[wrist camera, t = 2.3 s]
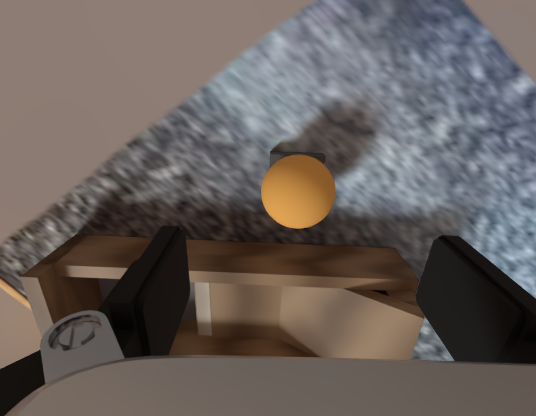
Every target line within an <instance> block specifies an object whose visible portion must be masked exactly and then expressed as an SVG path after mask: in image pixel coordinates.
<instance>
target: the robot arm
mask: <svg viewBox="0 0 536 416" xmlns="http://www.w3.org/2000/svg"><path fill="white" fill-rule="evenodd" d="M189 297H190V278H189V267H188V256H187V245H186V234H185V231H184V230H180V227H179V226H162V227H161V229H160V230H159V231H158V233H157V234H156V236H155V237H154V238H153V240H152V241H151V243H150V244H149V245H148V247H147V248H146V250H145V251H144V252H143V254H142V255H141V256H140V258H139V259H138V260H135V261H134V262H133V263H132V264H131V265H130V266H129V268H128V269H127V270H126V272H125V273H124V274H123V276H122V277H121V279H120V280H119V281H118V283H117V284H116V285H115V287H114V288H113V289H112V291H111V292H110V293H109V295H108V296H107V297H106V299H105V300H104V301H103V303H102V304H101V306H100V307H99V308H98V310H97V311H92V310H88V311H81V312H77V313H74V314H71V315H69V316H67V317H65V318H62V319H61V320H59V321H58V322H56V323H55V324H53V325H52V326H51V327H50V328H49V329H48V330H47V331H46V332H45V334H44V335H43V337H42V339H41V344H40V349H41V350H39V351H37V352H35V353H33V354H31V355H29V356H27V357H25V358H23V359H20V360H18V361H16V362H14V363H12V364H10V365H8V366H6V367H4V368H2V369H0V416H536V299H535V298H534V297H533V296H532V295H530V294H529V293H528V292H527V291H526V290H524V289H523V288H522V287H521V286H519V285H518V284H517V283H516V282H515V281H513V280H512V279H511V278H510V277H508V276H507V275H506V274H505V273H504V272H502V271H501V270H500V269H499V268H497V267H496V266H495V265H494V264H493V263H491V262H490V261H489V260H488V259H486V258H485V257H484V256H483V255H482V254H480V253H479V252H478V251H477V250H475V249H474V248H473V247H472V246H471V245H469V244H468V243H467V242H466V241H464V240H463V239H462V238H461V237H459V236H448V235H441V236H439V237H438V239H435V240H434V242H433V244H432V247H431V250H430V253H429V256H428V260H427V263H426V266H425V269H424V272H423V275H422V278H421V281H420V284H419V287H418V291H417V294H416V302H417V304H418V306H419V308H420V309H421V311H422V312H423V314H424V315H425V317H426V318H427V320H428V321H429V323H430V324H431V326H432V327H433V329H434V330H435V332H436V333H437V335H438V336H439V338H440V339H441V341H442V342H443V344H444V345H445V347H446V348H447V350H448V351H449V353H450V354H451V356H452V357H453V359H454V360H455V361H430V360H397V359H361V358H322V357H276V356H227V355H169V353H170V350H171V347H172V344H173V341H174V339H175V336H176V333H177V330H178V328H179V325H180V322H181V319H182V316H183V314H184V311H185V308H186V305H187V303H188V300H189Z"/></svg>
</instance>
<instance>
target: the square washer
mask: <svg viewBox="0 0 536 416" xmlns="http://www.w3.org/2000/svg"><path fill="white" fill-rule="evenodd" d="M290 155H306V156H310V157H313V158H315V159H317V160H319V161H320V162H321V163H323V164H324V161H325V156H324V154H323V153H301V152H278V151H270V167H271V166H272V165H273V164H275V163H276V162H277V161H279V160H280V159H282V158H284V157H287V156H290Z"/></svg>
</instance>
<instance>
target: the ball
mask: <svg viewBox="0 0 536 416" xmlns="http://www.w3.org/2000/svg"><path fill="white" fill-rule="evenodd" d="M261 195H262V201H263V204H264V207H265V209H266V211H267V212H268V214H269V215H270V216H271V217H272V218H273V219H274V220H275V221H276V222H278V223H279V224H281V225H283V226H286V227H290V228H296V229H299V228H307V227H310V226H313V225H315V224H317V223H318V222H320V221H321V220H322V219H324V218H325V217H326V216H327V214H328V213H329V212H330V210H331V208H332V206H333V203H334V200H335V183H334V180H333V177H332V175H331V173H330V171H329V170H328V168H327V167H326V166H325V165H324V164H323V163H321V162H320V161H319V160H317V159H315V158H313V157H310V156H306V155H290V156H287V157H284V158H282V159H280V160H279V161H277V162H276V163H275V164H273V165H272V166H271V167H270V169H269V170H268V171H267V173H266V175H265V177H264V179H263V183H262V188H261Z"/></svg>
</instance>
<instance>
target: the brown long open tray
mask: <svg viewBox="0 0 536 416" xmlns="http://www.w3.org/2000/svg"><path fill="white" fill-rule="evenodd" d="M152 240H153V238H146V237H123V236H100V235H77V234H76V235H75V236H73V237H72V238H71V239H69V240H68V241H67V242H65V243H64V244H63V245H61V246H60V247H59V248H57V249H56V250H55V251H53V252H52V253H51V254H49V255H48V256H47V257H45V258H44V259H43V260H41V261H40V262H39V263H37V264H36V265H35V266H34V267H32V268H31V269H30V270H28V271H27V272H26V273H24V274H23V275H22V276H20V279H21V282H22V285H23V287H24V290H25V293H26V295H27V298H28V301H29V303H30V306H31V309H32V312H33V314H34V317H35V320H36V322H37V325H38V328H39V330H40V333H41V336H42V337H43V335H44V334H45V332H46V331H47V330H48V329H49V328H50V327H51V326H52V325H53V324H55V323H56V322H58V321H59V320H61V319H62V318H65V317H67V316H69V315H71V314H74V313H77V312H81V311H88V310H92V311H97V310H98V308H99V307H100V306H101V304H102V303H103V301H104V300H105V299H106V297H107V296H108V295H109V293H110V292H111V291H112V289H113V288H114V287H115V285H116V284H117V283H118V281H119V280H120V279H121V277H122V276H123V274H124V273H125V272H126V270H127V269H128V268H129V266H130V265H131V264H132V263H133V262H134V261H135V260H138V259H139V258H140V256H141V255H142V254H143V252H144V251H145V250H146V248H147V247H148V245H149V244H150V243H151V241H152ZM186 245H187V256H188V267H189V278H190V297H189V300H188V303H187V305H186V308H185V311H184V314H183V316H182V319H181V322H180V325H179V328H178V330H177V333H176V336H175V339H174V341H173V344H172V347H171V350H170V353H169V355H227V356H276V357H322V358H361V359H397V360H410V359H411V356H412V353H413V350H414V347H415V344H416V341H417V338H418V336H419V333H420V330H421V327H422V324H423V321H424V316H425V315H424V314H423V312H422V311H421V309H420V308H419V306H418V304H417V302H416V295H415V294H414V292H416V289H417V286H418V283H419V280H418V279H417V277H416V276H415V275H414V273H413V272H412V271H411V269H410V268H409V267H408V265H407V264H406V263H405V261H404V260H403V259H402V257H401V256H400V255H399V253H398V252H397V251H396V249H395V248H377V247H354V246H331V245H308V244H285V243H262V242H239V241H216V240H192V239H186Z"/></svg>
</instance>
